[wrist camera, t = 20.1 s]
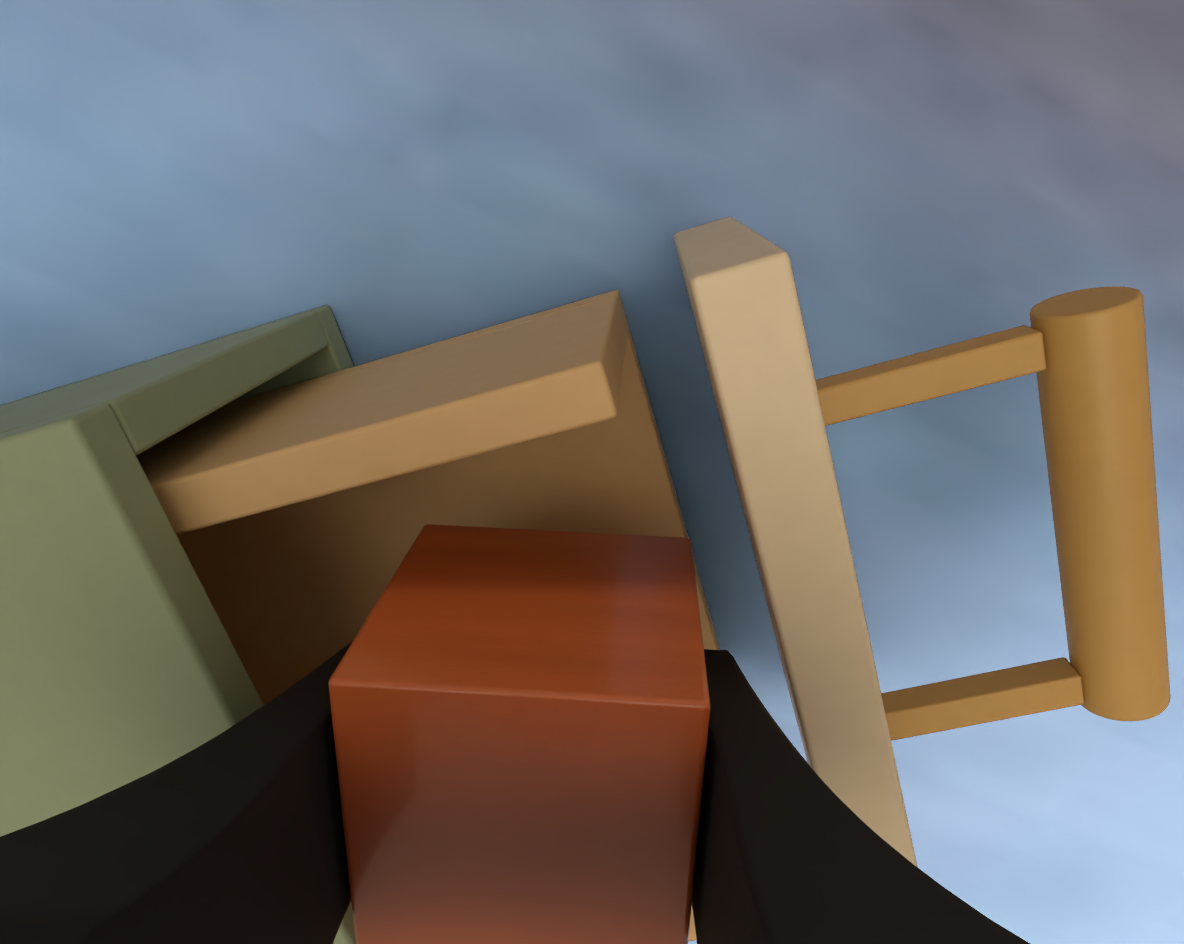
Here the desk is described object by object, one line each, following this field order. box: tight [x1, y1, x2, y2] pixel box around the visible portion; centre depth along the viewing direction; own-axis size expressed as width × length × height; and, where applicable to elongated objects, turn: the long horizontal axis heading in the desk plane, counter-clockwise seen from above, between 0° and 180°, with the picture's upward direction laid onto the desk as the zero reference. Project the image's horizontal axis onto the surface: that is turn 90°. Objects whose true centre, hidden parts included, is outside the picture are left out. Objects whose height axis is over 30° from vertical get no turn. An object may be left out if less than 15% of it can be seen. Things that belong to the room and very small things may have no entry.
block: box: [328, 524, 711, 944], centre depth 12 cm, size 4×4×4 cm
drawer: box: [136, 217, 1170, 941], centre depth 15 cm, size 19×11×7 cm, turn 107°
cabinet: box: [0, 305, 356, 944], centre depth 17 cm, size 16×13×9 cm
